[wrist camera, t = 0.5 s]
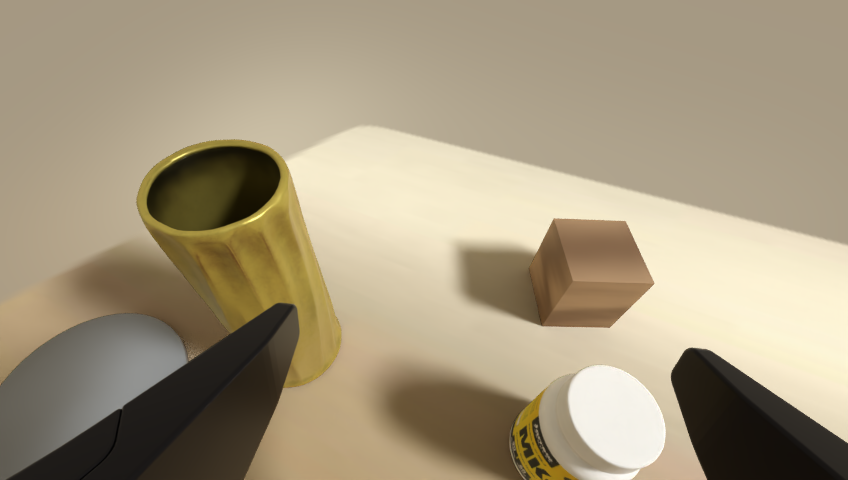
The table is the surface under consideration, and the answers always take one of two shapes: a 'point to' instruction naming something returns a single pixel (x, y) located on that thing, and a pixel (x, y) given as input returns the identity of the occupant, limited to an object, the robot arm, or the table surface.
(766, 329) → the table surface
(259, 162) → the vase
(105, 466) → the robot arm
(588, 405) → the supplement bottle
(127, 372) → the mat
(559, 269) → the walnut block
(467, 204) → the table surface
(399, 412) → the table surface
